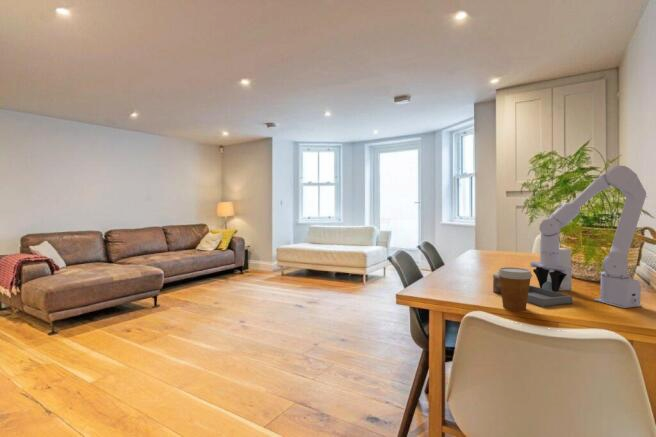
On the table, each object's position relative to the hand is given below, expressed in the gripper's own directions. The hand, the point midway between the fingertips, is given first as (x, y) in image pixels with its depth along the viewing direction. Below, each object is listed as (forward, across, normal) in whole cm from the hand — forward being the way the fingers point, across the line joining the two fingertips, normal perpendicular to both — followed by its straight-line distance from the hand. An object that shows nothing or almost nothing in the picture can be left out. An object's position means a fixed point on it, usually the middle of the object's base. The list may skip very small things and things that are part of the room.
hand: (549, 290), depth 122 cm
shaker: (+1, -7, -15) cm, 17 cm away
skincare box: (+2, -6, +10) cm, 12 cm away
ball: (+1, 0, 0) cm, 1 cm away
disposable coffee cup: (+2, +10, -25) cm, 27 cm away
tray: (+1, +4, -10) cm, 11 cm away
